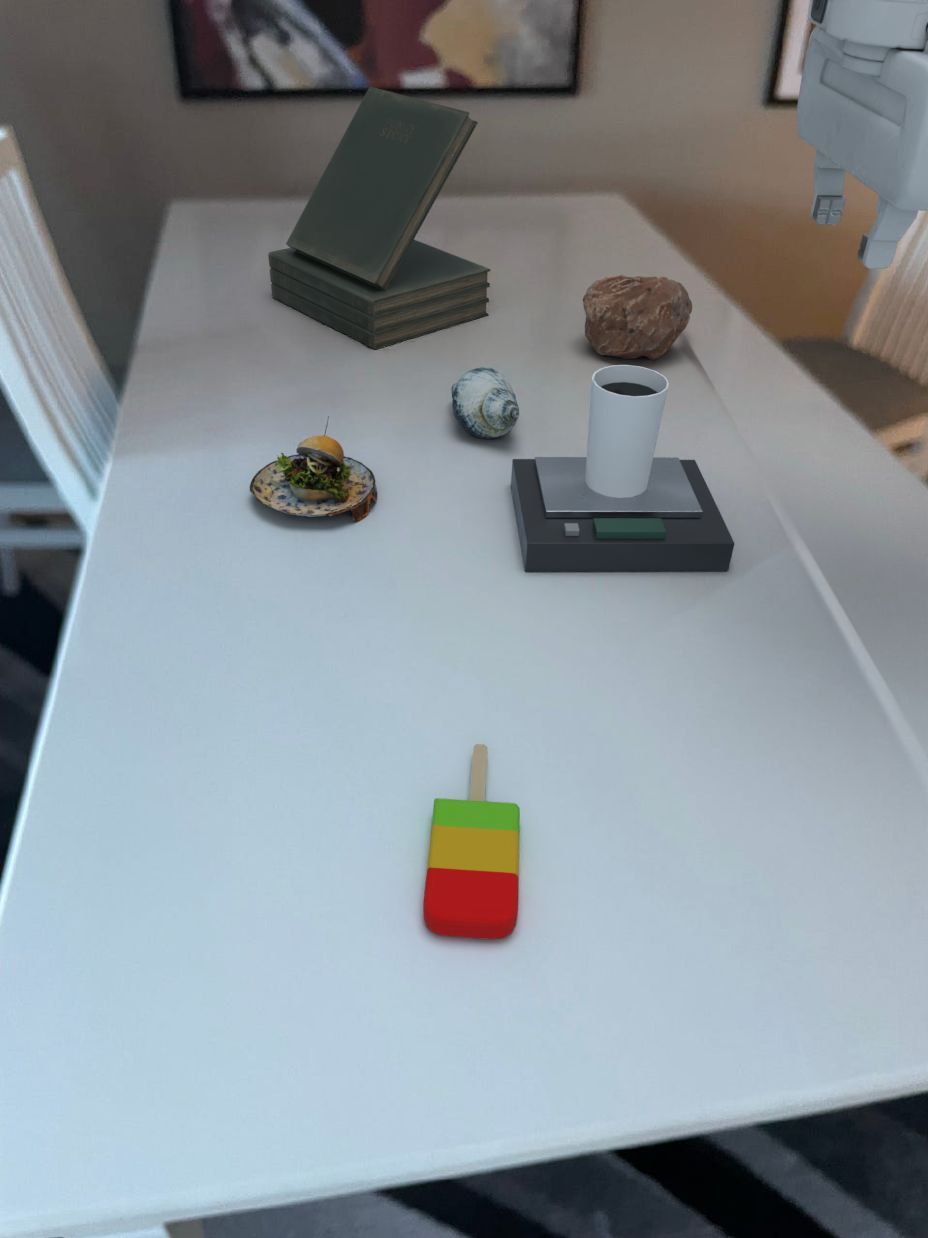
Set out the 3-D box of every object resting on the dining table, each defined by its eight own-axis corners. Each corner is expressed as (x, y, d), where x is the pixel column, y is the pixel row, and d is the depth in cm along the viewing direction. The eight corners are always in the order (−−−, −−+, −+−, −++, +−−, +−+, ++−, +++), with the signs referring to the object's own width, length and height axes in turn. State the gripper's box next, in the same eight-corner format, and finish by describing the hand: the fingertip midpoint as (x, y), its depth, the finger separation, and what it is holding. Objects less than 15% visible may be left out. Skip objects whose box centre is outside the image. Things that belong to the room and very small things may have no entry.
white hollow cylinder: (640, 507, 89) (657, 403, 83) (570, 489, 91) (581, 387, 85) (661, 474, 94) (677, 373, 88) (593, 458, 96) (605, 359, 90)
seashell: (505, 417, 114) (501, 467, 104) (447, 388, 112) (437, 436, 103) (532, 370, 110) (530, 417, 101) (472, 340, 109) (464, 384, 99)
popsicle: (420, 938, 57) (420, 918, 56) (440, 752, 69) (440, 732, 68) (516, 944, 57) (518, 924, 56) (519, 756, 69) (521, 737, 68)
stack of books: (271, 297, 138) (254, 96, 123) (384, 270, 148) (380, 81, 133) (373, 350, 124) (367, 131, 109) (488, 315, 135) (498, 111, 120)
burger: (229, 491, 96) (220, 420, 92) (331, 456, 102) (327, 388, 98) (297, 546, 89) (290, 472, 84) (402, 504, 95) (401, 433, 91)
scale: (690, 485, 100) (696, 451, 97) (728, 571, 88) (736, 535, 85) (510, 485, 99) (512, 451, 96) (524, 572, 87) (527, 535, 85)
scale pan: (677, 463, 97) (678, 457, 96) (701, 518, 89) (702, 511, 89) (534, 463, 96) (534, 456, 96) (545, 517, 88) (546, 511, 88)
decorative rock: (692, 347, 128) (706, 268, 122) (668, 379, 120) (682, 297, 114) (595, 328, 132) (604, 251, 126) (566, 358, 124) (574, 277, 118)
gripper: (1047, 33, 52) (958, 296, 60) (894, -11, 68) (841, 202, 76) (929, 29, 51) (856, 295, 60) (803, -14, 68) (760, 200, 76)
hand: (847, 242), depth 68 cm, fingers open, 8 cm apart
